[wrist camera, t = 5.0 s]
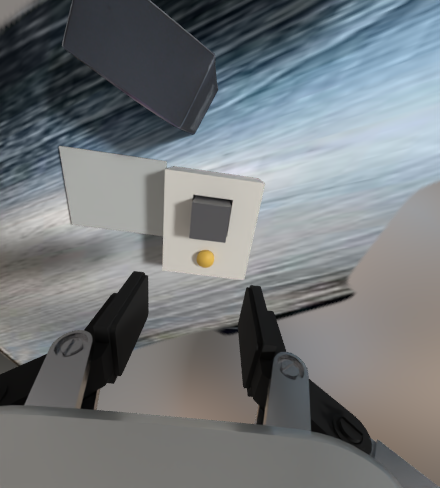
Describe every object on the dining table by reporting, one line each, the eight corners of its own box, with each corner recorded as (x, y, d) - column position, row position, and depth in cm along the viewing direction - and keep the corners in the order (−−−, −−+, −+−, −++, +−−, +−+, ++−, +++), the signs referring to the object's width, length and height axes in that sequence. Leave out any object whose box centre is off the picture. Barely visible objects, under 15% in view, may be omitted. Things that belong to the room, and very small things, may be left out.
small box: (118, 85, 25) (55, 47, 16) (139, 25, 23) (81, -64, 13) (193, 138, 28) (178, 132, 18) (220, 87, 25) (218, 50, 16)
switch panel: (258, 178, 30) (266, 184, 24) (241, 263, 35) (244, 283, 30) (173, 166, 29) (163, 169, 24) (170, 254, 35) (160, 273, 29)
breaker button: (229, 196, 29) (231, 207, 23) (224, 226, 31) (225, 242, 25) (197, 192, 29) (192, 202, 23) (195, 222, 30) (189, 238, 25)
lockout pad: (166, 161, 29) (165, 161, 28) (164, 234, 33) (163, 236, 33) (63, 146, 28) (58, 146, 27) (75, 223, 33) (71, 224, 32)
